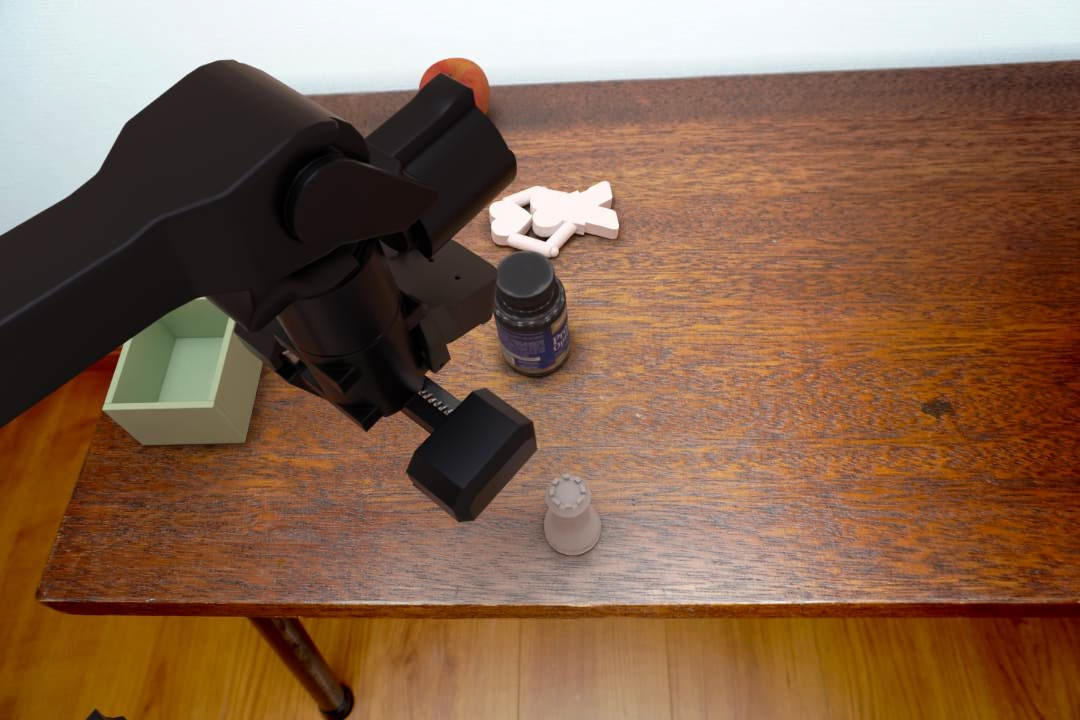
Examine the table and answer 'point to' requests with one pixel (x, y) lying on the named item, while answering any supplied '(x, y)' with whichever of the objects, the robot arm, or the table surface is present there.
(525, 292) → the pill bottle
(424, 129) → the robot arm
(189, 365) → the bin
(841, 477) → the table surface
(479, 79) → the apple
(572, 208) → the white abstract figurine
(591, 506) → the rook chess piece
